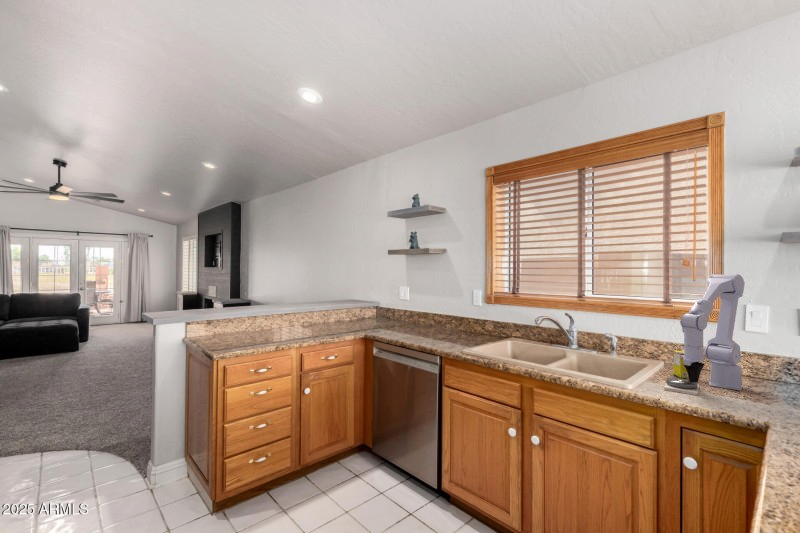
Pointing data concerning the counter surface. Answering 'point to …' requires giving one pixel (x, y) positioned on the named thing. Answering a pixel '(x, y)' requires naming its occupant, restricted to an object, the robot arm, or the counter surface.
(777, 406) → the counter surface
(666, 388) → the base board
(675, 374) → the supplement box
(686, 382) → the crank wheel
